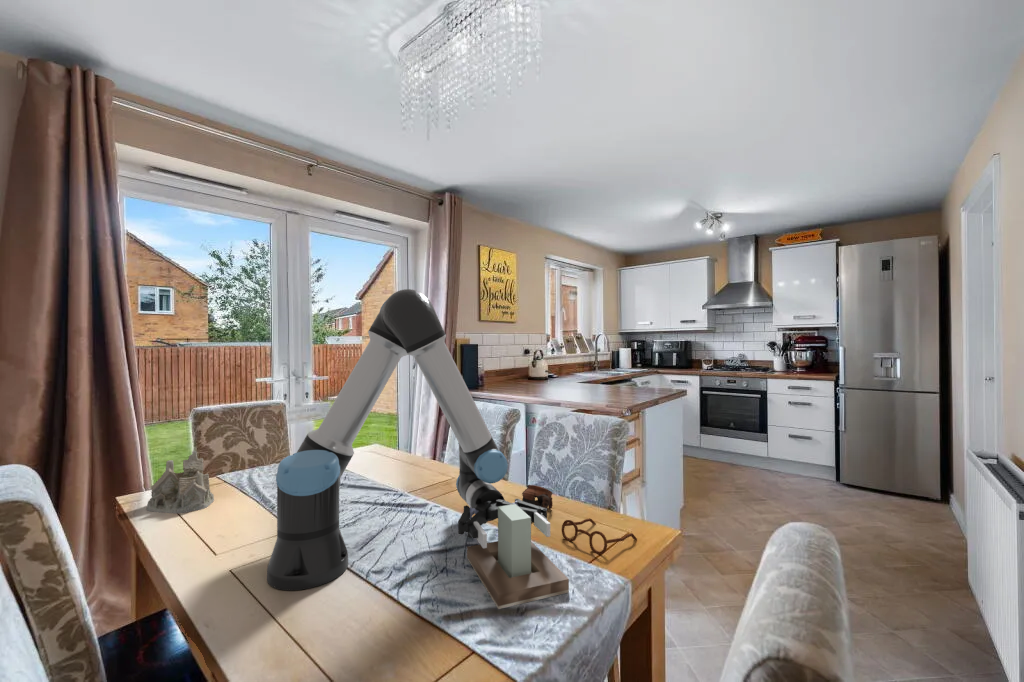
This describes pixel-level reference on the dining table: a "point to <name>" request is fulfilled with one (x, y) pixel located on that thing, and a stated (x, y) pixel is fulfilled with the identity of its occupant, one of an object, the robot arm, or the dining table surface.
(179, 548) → the dining table surface
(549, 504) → the brown piece
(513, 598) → the taupe picture frame
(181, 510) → the ceramic cottage
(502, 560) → the grey-green rectangular block
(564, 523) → the glasses
